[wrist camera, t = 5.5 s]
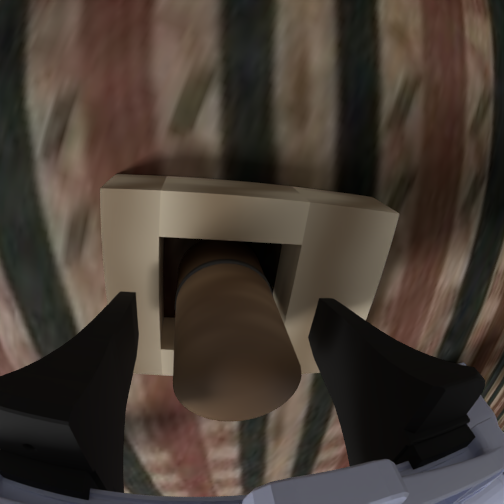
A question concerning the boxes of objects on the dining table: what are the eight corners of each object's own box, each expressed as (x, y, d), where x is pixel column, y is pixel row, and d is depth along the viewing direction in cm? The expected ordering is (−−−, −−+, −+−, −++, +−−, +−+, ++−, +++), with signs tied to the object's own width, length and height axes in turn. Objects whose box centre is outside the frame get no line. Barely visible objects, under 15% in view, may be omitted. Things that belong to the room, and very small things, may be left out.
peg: (267, 238, 15) (316, 333, 9) (256, 310, 17) (289, 418, 11) (178, 233, 14) (168, 334, 8) (176, 309, 16) (174, 422, 10)
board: (372, 197, 15) (399, 213, 13) (330, 341, 19) (346, 369, 17) (116, 174, 13) (100, 188, 10) (124, 340, 16) (117, 372, 14)
